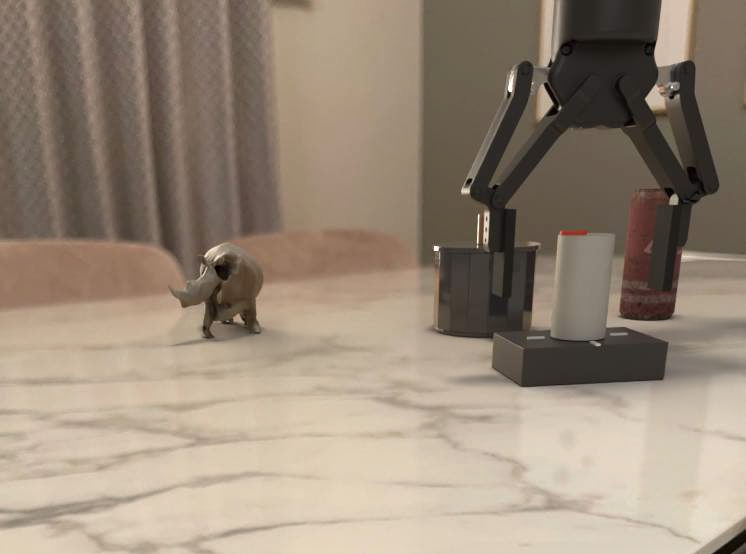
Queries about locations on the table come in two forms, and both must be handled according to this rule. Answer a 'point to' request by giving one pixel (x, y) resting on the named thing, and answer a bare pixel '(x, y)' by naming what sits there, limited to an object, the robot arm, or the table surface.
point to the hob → (578, 357)
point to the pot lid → (481, 243)
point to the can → (645, 262)
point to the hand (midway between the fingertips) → (581, 293)
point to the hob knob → (582, 285)
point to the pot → (481, 295)
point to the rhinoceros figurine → (225, 287)
